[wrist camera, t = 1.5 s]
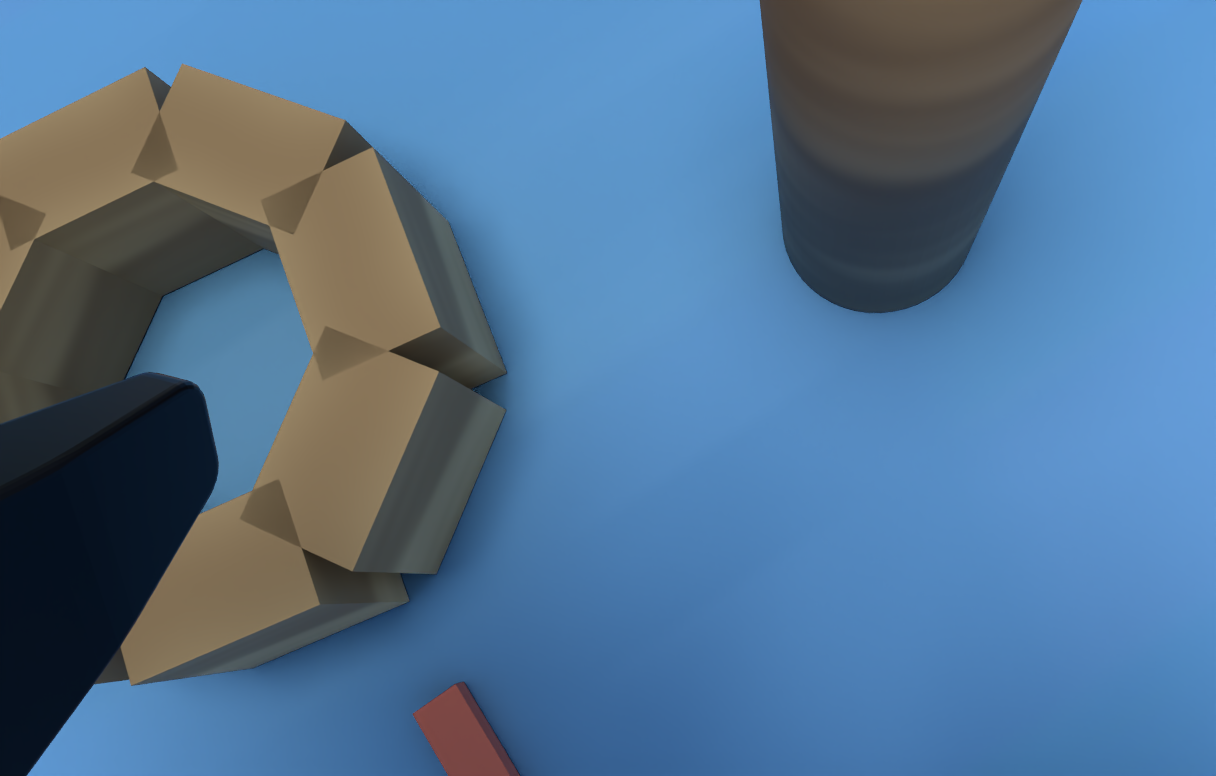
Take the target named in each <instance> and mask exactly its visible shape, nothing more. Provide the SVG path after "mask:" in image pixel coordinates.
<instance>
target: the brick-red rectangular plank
mask: <svg viewBox="0 0 1216 776" xmlns="http://www.w3.org/2000/svg"><path fill="white" fill-rule="evenodd" d="M413 716H414V718H415V719H416V721H417V723H418V725H419V726H420V728H421V730H422V731H423V733H424V735H425V737H426V738H427V740H428V742H429V743H430V745H431V747H432V749H433V750H434V752H435V754H436V755H437V757H438V759H439V761H440V762H441V764H442V766H443V768H444V769H445V771H446V773H447V774H448V776H520V775H519V773H518V771H517V770H516V768H515V766H514V765H513V763H512V761H511V760H510V758H509V756H508V755H507V753H506V751H505V750H504V748H503V746H502V745H501V743H500V741H499V740H498V738H497V736H496V735H495V733H494V731H493V730H492V728H491V726H490V725H489V723H488V721H487V720H486V718H485V716H484V715H483V713H482V711H481V710H480V708H479V706H478V705H477V703H476V701H475V700H474V698H473V696H472V695H471V693H470V691H469V690H468V688H467V686H466V685H465V683H464V682H461V683H457V684H455V685H453V686H452V687H450V688H449V689H447V690H446V691H445V692H443V693H442V694H440V695H439V696H437V697H436V698H435V699H433V700H432V701H430V702H429V703H427V704H426V705H425V706H423V707H422V708H420V709H419V710H417V711H416V712H415V713H413Z"/></svg>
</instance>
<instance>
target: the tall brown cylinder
mask: <svg viewBox="0 0 1216 776" xmlns="http://www.w3.org/2000/svg"><path fill="white" fill-rule="evenodd" d="M1081 2H1082V0H760V8H761V18H762V28H763V38H764V49H765V59H766V69H767V79H768V89H769V99H770V109H771V119H772V129H773V139H774V150H775V160H776V170H777V180H778V190H779V200H780V210H781V220H782V230H783V239H784V243H785V248H786V251H787V254H788V256H789V259H790V261H791V263H792V265H793V267H794V268H795V270H796V272H797V273H798V274H799V276H800V277H801V278H802V280H803V281H804V282H805V283H806V284H807V285H808V286H809V287H810V288H811V289H812V290H814V291H815V292H816V293H818V294H819V295H820V296H822V297H823V298H825V299H827V300H828V301H830V302H832V303H834V304H837V305H839V306H841V307H844V308H848V309H851V310H855V311H861V312H870V313H883V312H893V311H897V310H902V309H906V308H909V307H911V306H914V305H917V304H919V303H921V302H923V301H925V300H927V299H929V298H930V297H932V296H933V295H935V294H936V293H938V292H939V291H940V290H941V289H943V288H944V287H945V286H946V285H947V284H948V283H949V282H950V281H951V280H952V279H953V277H954V276H955V275H956V274H957V272H958V271H959V269H960V268H961V266H962V265H963V263H964V261H965V259H966V257H967V255H968V253H969V250H970V248H971V246H972V244H973V242H974V239H975V237H976V235H977V233H978V230H979V228H980V226H981V224H982V222H983V219H984V217H985V215H986V213H987V211H988V208H989V206H990V204H991V202H992V199H993V197H994V195H995V193H996V191H997V188H998V186H999V184H1000V182H1001V179H1002V177H1003V175H1004V173H1005V171H1006V168H1007V166H1008V164H1009V162H1010V160H1011V157H1012V155H1013V153H1014V151H1015V148H1016V146H1017V144H1018V142H1019V140H1020V137H1021V135H1022V133H1023V131H1024V128H1025V126H1026V124H1027V122H1028V120H1029V117H1030V115H1031V113H1032V111H1033V108H1034V106H1035V104H1036V102H1037V100H1038V97H1039V95H1040V93H1041V91H1042V89H1043V86H1044V84H1045V82H1046V80H1047V77H1048V75H1049V73H1050V71H1051V69H1052V66H1053V64H1054V62H1055V60H1056V57H1057V55H1058V53H1059V51H1060V49H1061V46H1062V44H1063V42H1064V40H1065V38H1066V35H1067V33H1068V31H1069V29H1070V26H1071V24H1072V22H1073V20H1074V18H1075V15H1076V13H1077V11H1078V9H1079V6H1080V4H1081Z"/></svg>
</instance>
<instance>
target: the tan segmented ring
mask: <svg viewBox="0 0 1216 776" xmlns="http://www.w3.org/2000/svg"><path fill="white" fill-rule="evenodd" d="M263 248H264V249H266V250H269V251H271V252H274V253H277V254H279V255H280V258H281V261H282V264H283V267H284V270H285V273H286V276H287V279H288V282H289V284H290V287H291V290H292V293H293V296H294V299H295V302H296V305H297V308H298V311H299V314H300V317H301V319H302V322H303V325H304V328H305V331H306V334H307V337H308V340H309V343H310V346H311V349H312V351H313V355H312V358H311V360H310V362H309V364H308V367H307V369H306V371H305V373H304V375H303V378H302V380H301V382H300V384H299V387H298V389H297V391H296V393H295V396H294V398H293V400H292V402H291V405H290V407H289V409H288V411H287V414H286V416H285V418H284V420H283V423H282V425H281V427H280V429H279V432H278V434H277V436H276V438H275V441H274V443H273V445H272V447H271V450H270V452H269V454H268V456H267V459H266V461H265V463H264V465H263V468H262V470H261V472H260V474H259V477H258V479H257V481H256V483H255V486H254V488H253V490H252V491H250V492H248V493H246V494H244V495H241V496H239V497H237V498H235V499H233V500H230V501H228V502H226V503H224V504H221V505H219V506H217V507H215V508H212V509H210V510H208V511H206V512H203V513H201V514H199V515H198V517H197V519H196V521H195V522H194V524H193V526H192V527H191V529H190V531H189V532H188V534H187V536H186V538H185V539H184V541H183V543H182V544H181V546H180V548H179V549H178V551H177V553H176V555H175V556H174V558H173V560H172V561H171V563H170V565H169V567H168V568H167V570H166V572H165V573H164V575H163V577H162V578H161V580H160V582H159V584H158V585H157V587H156V589H155V590H154V592H153V594H152V595H151V597H150V599H149V601H148V602H147V604H146V606H145V607H144V609H143V611H142V612H141V614H140V616H139V618H138V619H137V621H136V623H135V624H134V626H133V627H132V629H131V631H130V632H129V634H128V635H127V637H126V638H125V640H124V642H123V643H122V645H121V646H120V648H119V649H118V651H117V652H116V654H115V655H114V657H113V658H112V659H111V661H110V662H109V664H108V665H107V667H106V668H105V670H104V671H103V672H102V674H101V675H100V677H99V678H98V679H97V681H96V682H95V683H94V684H100V683H107V682H115V681H122V680H129V679H130V683H131V686H133V685H140V684H147V683H154V682H161V681H168V680H175V679H182V678H189V677H196V676H203V675H209V674H216V673H223V672H230V671H237V670H244V669H251V668H255V667H257V666H259V665H262V664H264V663H266V662H269V661H271V660H273V659H276V658H278V657H280V656H283V655H285V654H288V653H290V652H292V651H295V650H297V649H299V648H302V647H304V646H306V645H309V644H311V643H313V642H316V641H318V640H320V639H323V638H325V637H327V636H330V635H332V634H334V633H337V632H339V631H341V630H344V629H346V628H348V627H351V626H353V625H355V624H358V623H360V622H362V621H365V620H367V619H370V618H372V617H374V616H377V615H379V614H381V613H384V612H386V611H388V610H391V609H393V608H395V607H398V606H400V605H402V604H405V603H407V602H409V598H408V595H407V592H406V589H405V586H404V584H403V581H402V578H401V575H400V573H414V574H437V572H438V569H439V567H440V564H441V562H442V560H443V557H444V555H445V553H446V550H447V548H448V546H449V543H450V541H451V539H452V536H453V534H454V532H455V529H456V527H457V524H458V522H459V520H460V517H461V515H462V513H463V510H464V508H465V506H466V503H467V501H468V499H469V496H470V494H471V492H472V489H473V487H474V484H475V482H476V480H477V477H478V475H479V473H480V470H481V468H482V466H483V463H484V461H485V459H486V456H487V454H488V452H489V449H490V447H491V444H492V442H493V440H494V437H495V435H496V433H497V430H498V428H499V426H500V423H501V421H502V419H503V416H504V414H505V412H506V409H504V408H502V407H500V406H499V405H497V404H495V403H493V402H492V401H490V400H488V399H486V398H485V397H483V396H481V395H479V394H478V393H476V392H474V391H472V390H471V389H472V388H474V387H477V386H479V385H481V384H483V383H486V382H488V381H490V380H492V379H495V378H497V377H499V376H501V375H504V374H506V373H507V371H506V369H505V366H504V364H503V361H502V359H501V356H500V353H499V351H498V348H497V346H496V343H495V341H494V338H493V335H492V333H491V330H490V328H489V325H488V323H487V320H486V317H485V315H484V312H483V310H482V307H481V305H480V302H479V299H478V297H477V294H476V292H475V289H474V286H473V284H472V281H471V279H470V276H469V274H468V271H467V268H466V266H465V263H464V261H463V258H462V256H461V253H460V250H459V248H458V245H457V243H456V240H455V238H454V235H453V232H452V230H451V227H450V225H449V222H448V221H447V220H446V219H445V218H444V217H443V216H442V215H441V214H440V213H439V212H438V211H437V210H436V209H435V208H434V207H433V206H432V205H431V204H430V203H429V202H428V201H427V200H426V199H425V198H424V197H423V196H422V195H421V194H420V193H419V192H418V191H417V190H416V189H415V188H414V187H413V186H412V185H411V184H410V183H409V182H408V181H407V180H406V179H404V178H403V177H402V176H401V175H400V174H399V173H398V172H397V171H396V170H395V169H394V168H393V167H392V166H391V165H390V164H389V163H388V162H387V161H386V160H385V159H384V158H383V157H382V156H381V155H380V154H379V153H378V152H377V151H376V150H375V149H374V148H373V147H372V146H371V145H370V144H369V143H368V142H367V141H366V140H365V139H364V138H363V137H362V136H361V135H360V134H359V133H358V132H357V131H356V130H355V129H354V128H353V127H352V126H351V125H350V124H349V123H348V122H347V121H346V120H343V119H340V118H337V117H334V116H331V115H328V114H326V113H323V112H320V111H317V110H314V109H311V108H308V107H305V106H303V105H300V104H297V103H294V102H291V101H288V100H285V99H282V98H280V97H277V96H274V95H271V94H268V93H265V92H262V91H259V90H256V89H254V88H251V87H248V86H245V85H242V84H239V83H236V82H233V81H231V80H228V79H225V78H222V77H219V76H216V75H213V74H210V73H208V72H205V71H202V70H199V69H196V68H193V67H190V66H187V65H184V64H182V65H181V67H180V69H179V72H178V74H177V76H176V78H175V80H174V82H173V84H172V86H171V87H170V86H169V85H168V84H166V83H165V82H164V81H162V80H161V79H160V78H159V77H157V76H156V75H155V74H153V73H152V72H151V71H149V70H148V69H147V68H146V67H144V68H142V69H140V70H138V71H136V72H134V73H132V74H130V75H128V76H126V77H124V78H122V79H120V80H118V81H116V82H114V83H112V84H110V85H108V86H106V87H104V88H102V89H100V90H98V91H96V92H94V93H92V94H90V95H88V96H86V97H84V98H82V99H80V100H78V101H76V102H74V103H72V104H69V105H67V106H65V107H63V108H61V109H59V110H57V111H55V112H53V113H51V114H49V115H47V116H45V117H43V118H41V119H39V120H37V121H35V122H33V123H31V124H29V125H27V126H25V127H23V128H21V129H19V130H17V131H15V132H13V133H11V134H9V135H7V136H5V137H3V138H1V139H0V424H1V423H4V422H7V421H9V420H12V419H15V418H18V417H21V416H24V415H26V414H29V413H32V412H35V411H38V410H40V409H43V408H46V407H49V406H52V405H54V404H57V403H60V402H63V401H66V400H69V399H71V398H74V397H77V396H80V395H83V394H85V393H88V392H91V391H94V390H97V389H99V388H102V387H105V386H108V385H111V384H114V383H116V382H119V381H122V380H124V378H125V376H126V373H127V371H128V369H129V367H130V365H131V363H132V360H133V358H134V356H135V354H136V352H137V350H138V347H139V345H140V343H141V341H142V339H143V337H144V335H145V332H146V330H147V328H148V326H149V324H150V322H151V319H152V317H153V315H154V313H155V311H156V309H157V306H158V304H159V302H160V300H161V298H162V296H163V295H165V294H168V293H170V292H172V291H174V290H176V289H178V288H180V287H182V286H185V285H187V284H189V283H191V282H193V281H195V280H197V279H199V278H202V277H204V276H206V275H208V274H210V273H212V272H214V271H216V270H219V269H221V268H223V267H225V266H227V265H229V264H231V263H233V262H236V261H238V260H240V259H242V258H244V257H246V256H248V255H250V254H253V253H255V252H257V251H259V250H261V249H263Z"/></svg>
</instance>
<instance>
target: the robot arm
mask: <svg viewBox="0 0 1216 776" xmlns="http://www.w3.org/2000/svg"><path fill="white" fill-rule="evenodd" d="M218 466H219V462H218V455H217V451H216V446H215V442H214V437H213V432H212V428H211V423H210V419H209V414H208V409H207V405H206V400H205V397H204V394H203V392H202V391H201V390H200V388H199V387H198V386H197V385H196V384H194V383H192V382H191V381H187V380H184V379H180V378H176V377H172V376H168V375H164V374H160V373H152V372H148V373H142V374H139V375H136V376H133V377H130V378H128V379H125V380H122V381H119V382H116V383H114V384H111V385H108V386H105V387H102V388H99V389H97V390H94V391H91V392H88V393H85V394H83V395H80V396H77V397H74V398H71V399H69V400H66V401H63V402H60V403H57V404H54V405H52V406H49V407H46V408H43V409H40V410H38V411H35V412H32V413H29V414H26V415H24V416H21V417H18V418H15V419H12V420H9V421H7V422H4V423H1V424H0V776H27V775H28V773H29V772H30V771H31V769H32V768H33V766H34V765H35V764H36V762H37V761H38V760H39V758H40V757H41V756H42V754H43V753H44V751H45V750H46V749H47V747H48V746H49V745H50V743H51V742H52V741H53V739H54V738H55V736H56V735H57V734H58V732H59V731H60V730H61V728H62V727H63V726H64V724H65V723H66V721H67V720H68V719H69V717H70V716H71V715H72V713H73V712H74V711H75V709H76V708H77V707H78V705H79V704H80V702H81V701H82V700H83V698H84V697H85V696H86V694H87V693H88V692H89V690H90V689H91V687H92V686H93V685H94V683H95V682H96V681H97V679H98V678H99V677H100V675H101V674H102V672H103V671H104V670H105V668H106V667H107V665H108V664H109V662H110V661H111V659H112V658H113V657H114V655H115V654H116V652H117V651H118V649H119V648H120V646H121V645H122V643H123V642H124V640H125V638H126V637H127V635H128V634H129V632H130V631H131V629H132V627H133V626H134V624H135V623H136V621H137V619H138V618H139V616H140V614H141V612H142V611H143V609H144V607H145V606H146V604H147V602H148V601H149V599H150V597H151V595H152V594H153V592H154V590H155V589H156V587H157V585H158V584H159V582H160V580H161V578H162V577H163V575H164V573H165V572H166V570H167V568H168V567H169V565H170V563H171V561H172V560H173V558H174V556H175V555H176V553H177V551H178V549H179V548H180V546H181V544H182V543H183V541H184V539H185V538H186V536H187V534H188V532H189V531H190V529H191V527H192V526H193V524H194V522H195V521H196V519H197V517H198V515H199V514H200V512H201V510H202V509H203V507H204V505H205V503H206V502H207V500H208V498H209V497H210V495H211V493H212V491H213V489H214V486H215V483H216V481H217V476H218Z"/></svg>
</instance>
